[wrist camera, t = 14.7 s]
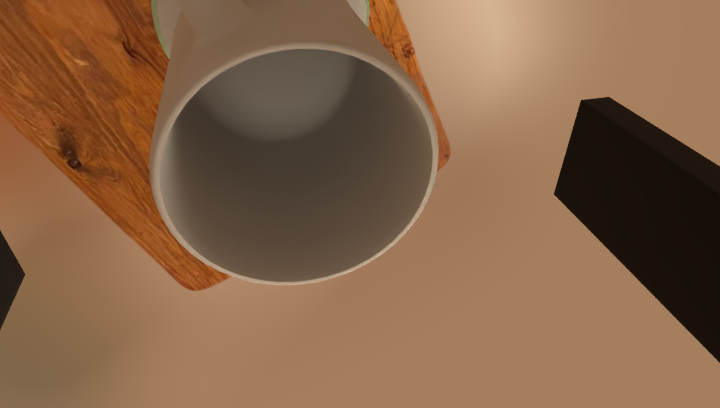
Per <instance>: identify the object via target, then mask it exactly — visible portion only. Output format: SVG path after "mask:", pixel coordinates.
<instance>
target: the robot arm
mask: <svg viewBox="0 0 720 408" xmlns="http://www.w3.org/2000/svg"><path fill="white" fill-rule="evenodd" d="M554 195H555V196H556V197H557V198H558V199H559V200H560V201H561V202H562V203H563V204H564V205H565V206H566V207H567V208H568V209H569V210H570V211H571V212H572V213H573V214H574V215H575V216H576V217H577V218H578V219H579V220H580V221H581V222H582V223H583V224H584V225H585V226H586V227H587V228H588V229H589V230H590V231H591V232H592V233H593V234H594V235H595V236H596V237H597V238H598V239H599V240H600V242H602V243H603V245H604V246H605V247H606V248H607V249H608V250H610V252H611V253H612V254H613V255H614V256H615V257H616V258H617V259H618V260H619V261H620V262H621V263H622V264H623V265H624V266H625V267H626V268H627V269H628V270H629V271H630V272H631V273H632V274H633V275H634V276H635V277H636V278H637V279H638V280H639V281H640V282H641V283H642V284H643V285H644V286H645V287H646V288H647V289H648V290H649V291H650V292H651V293H652V294H653V295H654V296H655V297H656V298H657V299H658V300H659V301H660V302H661V304H663V305H664V307H665V308H666V309H667V310H668V311H670V313H671V314H672V315H673V316H674V317H675V318H676V319H677V320H678V321H679V322H680V323H681V324H682V325H683V326H684V327H685V328H686V329H687V330H688V331H689V332H690V333H691V334H692V335H693V336H694V337H695V338H696V339H697V340H698V341H699V342H700V343H701V344H702V345H703V346H704V347H705V348H706V349H707V350H708V351H709V352H710V353H711V354H712V355H713V356H714V357H715V358H716V359H717V360H718V361H719V362H720V166H718V165H717V164H715V163H713V162H712V161H710V160H708V159H707V158H705V157H704V156H702V155H701V154H699V153H697V152H696V151H694V150H693V149H691V148H690V147H688V146H686V145H685V144H683V143H681V142H680V141H678V140H677V139H675V138H674V137H672V136H670V135H669V134H667V133H665V132H664V131H662V130H661V129H659V128H658V127H656V126H654V125H653V124H651V123H650V122H648V121H646V120H645V119H643V118H642V117H640V116H638V115H637V114H635V113H634V112H632V111H630V110H629V109H627V108H626V107H624V106H622V105H621V104H619V103H618V102H616V101H614V100H613V99H611V98H610V97H606V98H597V99H588V100H581V102H580V106H579V109H578V113H577V116H576V119H575V123H574V126H573V130H572V133H571V137H570V141H569V144H568V147H567V151H566V154H565V158H564V161H563V165H562V168H561V171H560V175H559V178H558V182H557V185H556V189H555V193H554ZM24 276H25V273H24V272H23V269H22V268H21V266H20V264H19V263H18V261H17V259H16V257H15V256H14V254H13V252H12V250H11V248H10V247H9V245H8V243H7V241H6V240H5V238H4V236H3V235H2V233H1V231H0V329H1V327H2V325H3V323H4V320H5V318H6V316H7V313H8V311H9V309H10V307H11V305H12V302H13V300H14V298H15V296H16V294H17V291H18V289H19V287H20V285H21V282H22V280H23V278H24Z"/></svg>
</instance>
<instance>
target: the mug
mask: <svg viewBox="0 0 720 408" xmlns="http://www.w3.org/2000/svg"><path fill="white" fill-rule="evenodd" d="M176 1H177V3H178V5H179V6H180V8H181V9H182V10H181V12H180V15H179V17H178V19H177V23H176V26H175V30H174V34H173V42H172V49H171V54H170V59H169V63H168V68H167V72H166V77H165V81H164V86H163V90H162V95H161V99H160V104H159V108H158V113H157V117H156V122H155V126H154V131H153V136H152V142H151V151H150V160H149V165H150V183H151V187H152V192H153V196H154V200H155V203H156V205H157V208H158V210H159V213H160V215H161V217H162V219H163V220H164V222H165V224H166V225H167V227H168V229H169V230H170V232H171V233H172V234H173V235H174V237H175V238H176V239H177V240H178V242H179V243H180V244H181V245H182V246H183V247H184V248H186V249H187V250H188V251H189V252H190V253H191V254H192V255H194V256H195V257H196V258H198V259H199V260H201V261H202V262H203V263H205V264H207V265H209V266H210V267H212V268H214V269H216V270H218V271H220V272H223V273H225V274H228V275H230V276H233V277H235V278H239V279H243V280H246V281H250V282H256V283H262V284H271V285H299V284H307V283H314V282H319V281H323V280H328V279H331V278H334V277H337V276H340V275H343V274H346V273H348V272H351V271H353V270H355V269H358V268H359V267H361V266H363V265H365V264H367V263H369V262H371V261H372V260H374V259H375V258H377V257H378V256H380V255H381V254H383V253H384V252H385V251H386V250H388V249H389V248H390V247H392V245H394V244H395V243H396V242H397V241H398V240H399V239H400V238H401V237H402V236H403V235H404V234H405V233H406V232H407V231H408V229H409V228H410V227H411V226H412V224H413V223H414V222H415V221H416V219H417V218H418V216H419V215H420V213H421V211H422V210H423V208H424V206H425V204H426V202H427V200H428V198H429V196H430V193H431V191H432V188H433V184H434V181H435V177H436V172H437V167H438V150H439V149H438V139H437V131H436V127H435V124H434V120H433V116H432V114H431V112H430V109H429V107H428V105H427V102H426V100H425V98H424V97H423V95H422V93H421V92H420V90H419V89H418V87H417V86H416V84H415V83H414V81H413V80H412V79H411V77H410V76H409V75H408V74H407V73H406V72H405V70H404V69H403V68H402V67H401V66H400V65H399V63H398V62H397V61H396V60H395V59H394V58H393V56H392V55H391V54H390V53H389V52H388V51H387V49H386V48H385V47H384V46H383V45H382V44H381V42H380V41H379V40H378V39H377V38H376V37H375V35H374V34H373V33H372V32H371V31H370V30H369V28H368V27H367V26H366V25H365V24H364V23H363V21H362V20H361V19H360V18H359V17H358V15H357V14H356V13H355V12H354V10H353V9H352V8H351V6H350V5H349V3H348V2H347V1H346V0H176Z"/></svg>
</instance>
